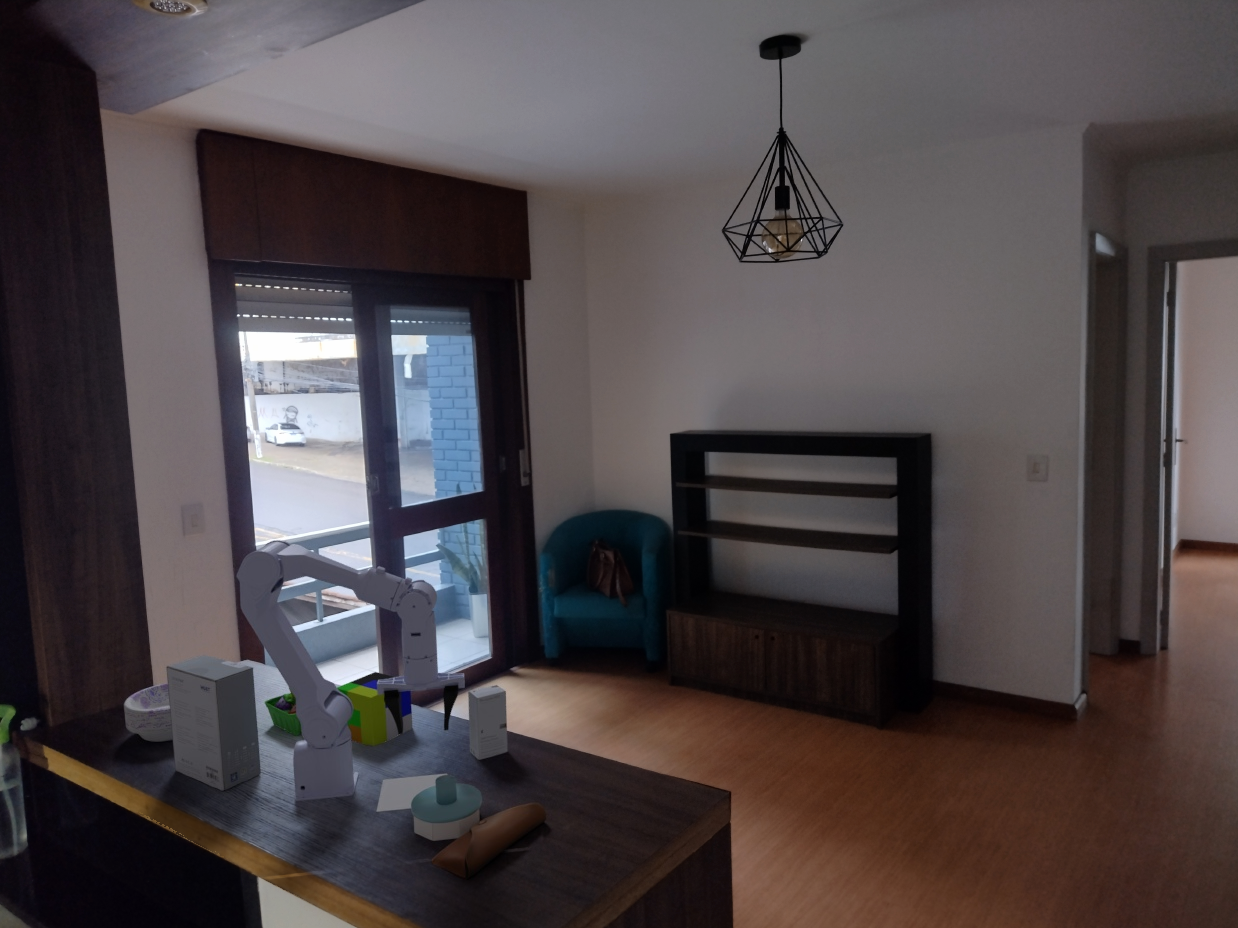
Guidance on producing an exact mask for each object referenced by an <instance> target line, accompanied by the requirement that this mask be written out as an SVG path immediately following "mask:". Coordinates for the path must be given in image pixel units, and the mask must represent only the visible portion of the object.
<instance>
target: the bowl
mask: <svg viewBox="0 0 1238 928" xmlns="http://www.w3.org/2000/svg"><path fill="white" fill-rule="evenodd" d="M480 819H481V818H480V808H479V809H478V810H477V811H476V812H475V813H474V814H472V815H470V816H468V817H466V818H464V819H461V820H458V821H454V822H449V823H429V822H425V821H422V820H419V819H417V818H416V817H415V816H414V815H413V831H414V834H417V835H419V836H421V837H423V838H425V839H427V840H430V841H434V842H436V841H443V840H452V839H453V840H454V839H455V840H456V839H458V838H459V837H461V836H462V835H464V834H465V833H467V832H468V831H470V828H471V827H472V826H473V825H475V824H477V823H478V822H479V821H481V820H480Z"/></svg>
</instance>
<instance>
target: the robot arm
mask: <svg viewBox="0 0 1238 928" xmlns="http://www.w3.org/2000/svg"><path fill="white" fill-rule="evenodd" d="M305 577H308V578H311V579H315V580H318V581H321V582H325V583H328V584H332V585H335V586H339V587H342V588H346V589H347V590H348V589H349V590H352V591H353V593H354V595H355V596H356V598H357V600H358V601H361V602H364V603H367V604H370V605H373V606H376V607H379V608H381V609H384V610H387V611H390V612H394V613H396V614H397V615H398V617H399V618H400V619H401V646H402V647H401V648H402V663H403V664H402V665H403V675H400V676H393V677H394V678H389V679H383V680H378V682H377V694H378V695H381V694H384V702H385V704H386V706H387V707H388V709H389V710H390V712H391V714H392V716H393V718H394V720H395V723H396V726H397V730H398V734H400V735H403V734H404V733H403V718H402V710H401V691H411V692H412V691H414V692H421V691H423V692H424V691H426V690H434V689H435V690H436V689H437V690H438V689H443V692H442V693H443V694H442V695H443V709H444V711H443V712H444V713H443V714H444V716H443V719H444V720H443V731H449V724H450V717H451V715H452V710H453V707H454V705H455V703H456V701H457V698H458V695H459V689H465V688H466V687H465V685H466V684H465V683H466V681H465V673H464V672H463V673H462V672H461V673H454V672H453V673H451V672H450V673H449V672H439V665H438V646H437V644H438V642H437V626H436V617H435V611H434V609H435V606H436V604H437V601H438V599H437V598H438V595H437V591H436V589H435V587H434V586H433V585H432V584H431V583H429V582H427V581H426V580H424V579H415V580H413V578H411V577H408V576H407V577H405V578H403V577H400V576H397V575H394V574H392V573H389V572H386V568H385V567H383V566H380V565H379V566H377V568H375V567H373V566H372V567H368V568H366V569H364V570H358V569H356V568H354V567H351V566H349V565H347V564H344V563H342V562H339V561H336V560H333V559H332V558H329V557H326V556H325V555H322V554H319V553H316V552H315V551H312V550H309V549H308V548H305V547H304V546H303V545H300V544H297V543H295V544H294V543H290V542H288V541H286V540H281V539H274V540H271V541H268V542H267V543H266V544H265V545H263V546H262V547H260V548H259V549H257V550H254V551H252V552H250V553H248V554H247V555H246V556H245V557H244V558H243V560H242V562H241V564H240V566H239V569H238V571H237V573H236V579H237V580H238V581H239V596H240V598H239V600H240V609H241V611H242V614H243V615H244V617H245V618H246V620H247V622H248V623H249V625H250V627H251V628H252V629H253V631H254V632H255V635H256V636H257V637H258V640H259V641H260V642H261V644H262V646H263V648H264V649H265V651H266V652H267V654H268V655H269V657H270V659H271V660H272V662H273V663H274V665H275V667H276V668H277V670H278V672H279V673H280V675H281V676H282V679H283V680H284V681H285V683H286V685H287V686H288V689H289V688H290V690H291V691H292V693H293V694H294V696H295V698H296V715H297V717H298V719H299V720H300V723H301V731H302V733H301V735H302V738H303V740H301V739H300V740H297V741H296V742H295V745H294V749H293V756H292V757H293V758H292V761H293V762H292V763H293V766H292V767H293V779H294V781H293V782H294V793H295V795H294V796H295V797H294V801H295V802H300V801H310V800H321V799H331V798H343V797H351V796H354V793H355V791H356V787H357V783H358V779H359V774H360V773H359V772H358V771H355V772H354V762H353V761H354V760H353V746H352V745H353V741H351V731H350V729H349V727H348V723H347V722H348V721H349V720H350V718H351V716H352V714H353V704H352V702H351V700H350V699H349V697H347V696H346V695H345V694H343V693H341V692H340V691H339V690H338V689H337V687H338V686H336V684H335V683H334V682H332V681H330V680H328V679H327V678H324V676H323V675H322V673H321V671H320V669H318V667H317V665H316V663H315V661H314V659H313V658H312V656H311V655H310V654H309V652H308V649H307V647H305V645H304V643H303V642H302V640H301V639H300V637H299V635H298V634H297V632H296V631H295V628H294V627H293V625H292V624H291V623H290V621H289V619H288V618H287V616H286V614H285V612H284V611H283V609H282V607H281V605H280V604H279V602H278V601H279V600H278V599H279V598H280V597H279V596H280V594H281V591H282V589H283V586H284V583H285V582H286V583H287V582H291V581H294V580H298V579H301V578H305ZM290 690H289V691H290Z"/></svg>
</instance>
